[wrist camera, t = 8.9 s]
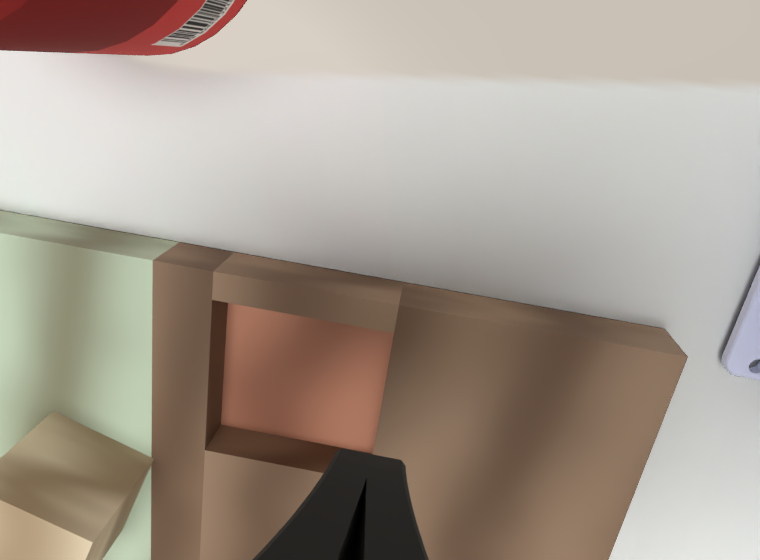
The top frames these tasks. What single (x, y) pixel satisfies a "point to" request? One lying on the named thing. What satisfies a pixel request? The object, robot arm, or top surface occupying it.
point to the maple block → (66, 492)
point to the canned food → (112, 25)
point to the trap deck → (325, 393)
